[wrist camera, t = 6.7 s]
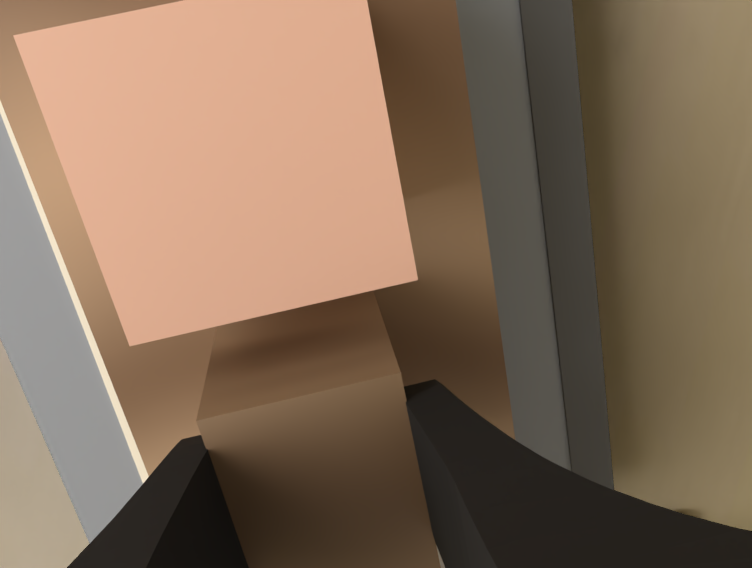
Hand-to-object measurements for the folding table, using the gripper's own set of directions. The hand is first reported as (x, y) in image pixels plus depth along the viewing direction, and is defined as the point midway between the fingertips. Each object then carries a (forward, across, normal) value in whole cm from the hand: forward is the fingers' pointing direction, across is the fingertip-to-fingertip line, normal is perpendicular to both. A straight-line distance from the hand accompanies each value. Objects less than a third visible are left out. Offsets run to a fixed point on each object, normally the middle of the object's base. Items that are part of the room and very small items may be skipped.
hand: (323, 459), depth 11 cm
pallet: (+5, 0, 0) cm, 5 cm away
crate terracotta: (+3, 0, -5) cm, 6 cm away
